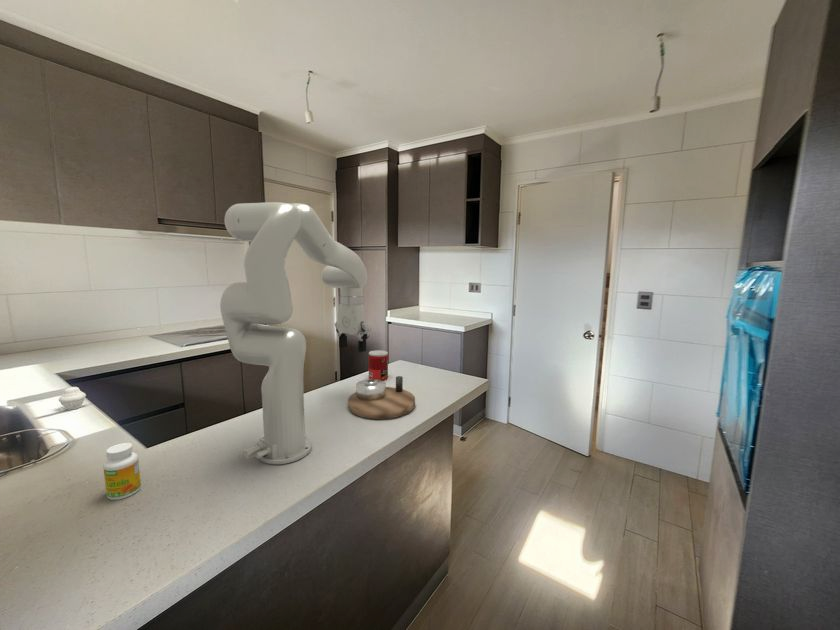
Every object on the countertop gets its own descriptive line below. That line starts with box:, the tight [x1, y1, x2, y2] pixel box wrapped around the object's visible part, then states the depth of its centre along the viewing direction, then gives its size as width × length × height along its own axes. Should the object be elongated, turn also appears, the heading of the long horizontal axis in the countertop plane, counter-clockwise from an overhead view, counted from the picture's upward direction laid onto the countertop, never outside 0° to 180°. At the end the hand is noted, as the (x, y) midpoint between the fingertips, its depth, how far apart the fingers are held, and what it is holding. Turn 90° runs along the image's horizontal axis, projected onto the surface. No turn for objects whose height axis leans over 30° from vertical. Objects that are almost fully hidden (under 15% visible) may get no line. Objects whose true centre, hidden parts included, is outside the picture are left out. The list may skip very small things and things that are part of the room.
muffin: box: [58, 386, 87, 411], centre depth 111 cm, size 6×6×7 cm
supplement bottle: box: [102, 442, 142, 501], centre depth 71 cm, size 5×5×10 cm
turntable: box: [347, 375, 416, 420], centre depth 117 cm, size 22×22×7 cm
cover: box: [355, 378, 387, 401], centre depth 119 cm, size 10×10×5 cm
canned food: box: [368, 349, 389, 382], centre depth 144 cm, size 8×8×11 cm
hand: (352, 349), depth 123 cm, fingers open, 9 cm apart
